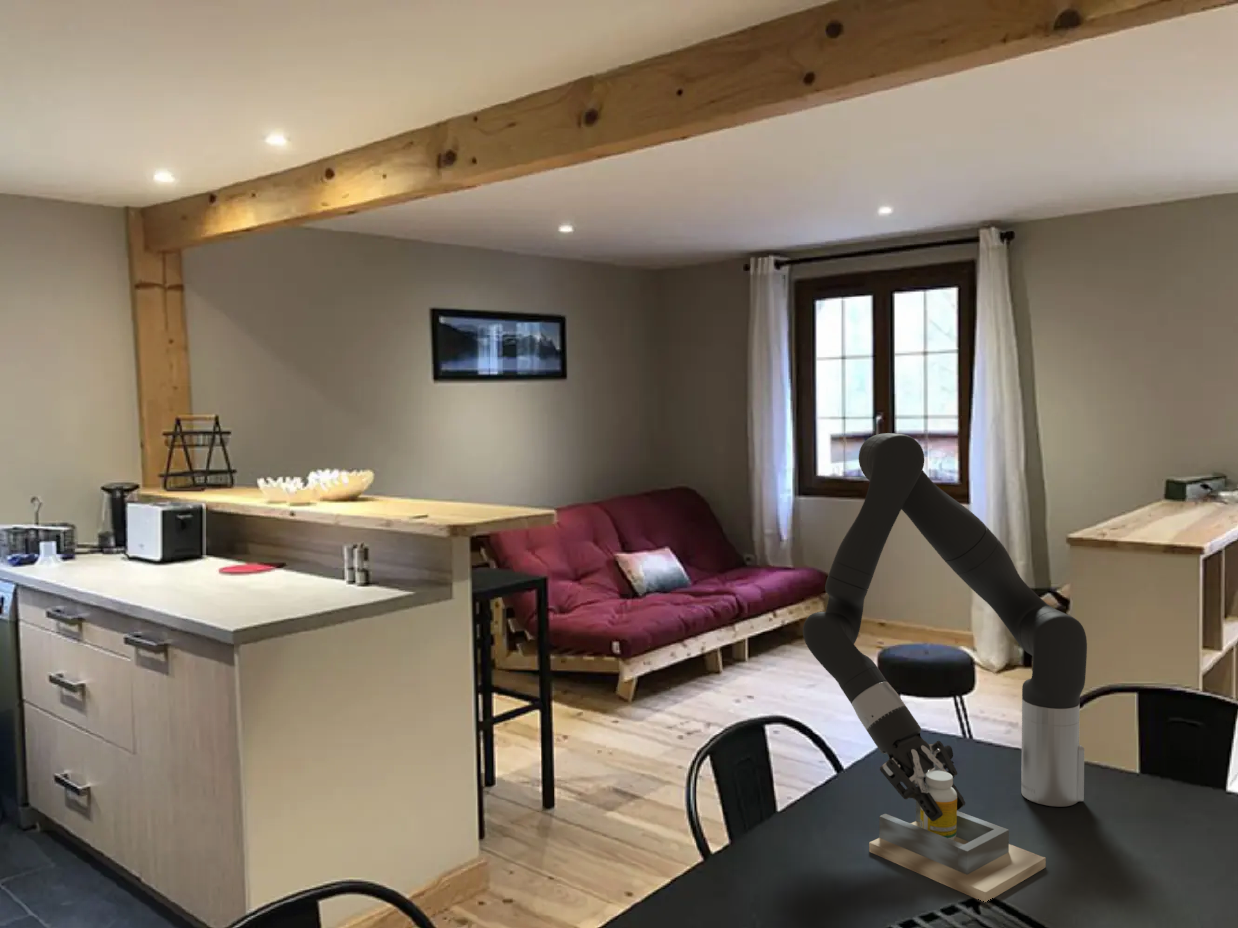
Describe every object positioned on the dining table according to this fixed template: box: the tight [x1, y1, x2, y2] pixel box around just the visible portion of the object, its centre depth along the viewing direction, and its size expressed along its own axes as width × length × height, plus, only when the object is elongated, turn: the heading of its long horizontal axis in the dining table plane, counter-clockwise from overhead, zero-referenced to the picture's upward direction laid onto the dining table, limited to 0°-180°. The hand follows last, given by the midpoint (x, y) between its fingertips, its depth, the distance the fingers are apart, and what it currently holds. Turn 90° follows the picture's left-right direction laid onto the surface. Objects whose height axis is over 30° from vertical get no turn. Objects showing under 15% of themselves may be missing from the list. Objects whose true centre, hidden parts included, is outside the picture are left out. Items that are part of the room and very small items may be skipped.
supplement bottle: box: [920, 771, 958, 840], centre depth 151 cm, size 5×5×10 cm
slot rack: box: [868, 800, 1047, 903], centre depth 149 cm, size 20×16×5 cm
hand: (949, 812), depth 150 cm, fingers closed on supplement bottle, 5 cm apart
